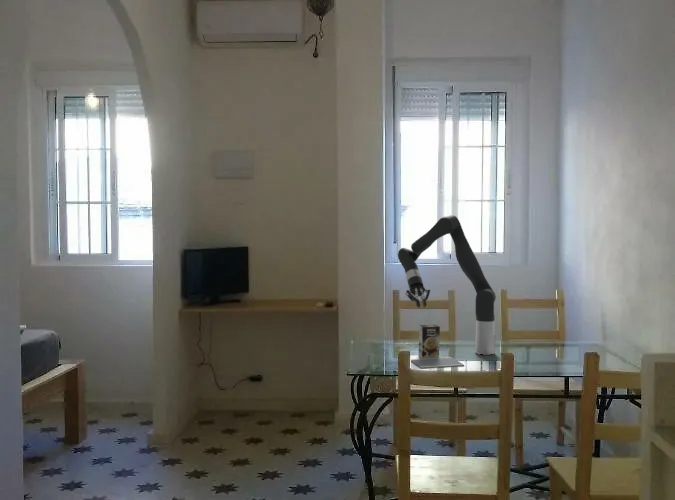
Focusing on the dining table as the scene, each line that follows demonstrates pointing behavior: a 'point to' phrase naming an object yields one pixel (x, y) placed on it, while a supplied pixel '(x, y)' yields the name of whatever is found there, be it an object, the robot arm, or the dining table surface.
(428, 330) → the coffee box
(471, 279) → the robot arm
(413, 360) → the mat
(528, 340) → the dining table surface
